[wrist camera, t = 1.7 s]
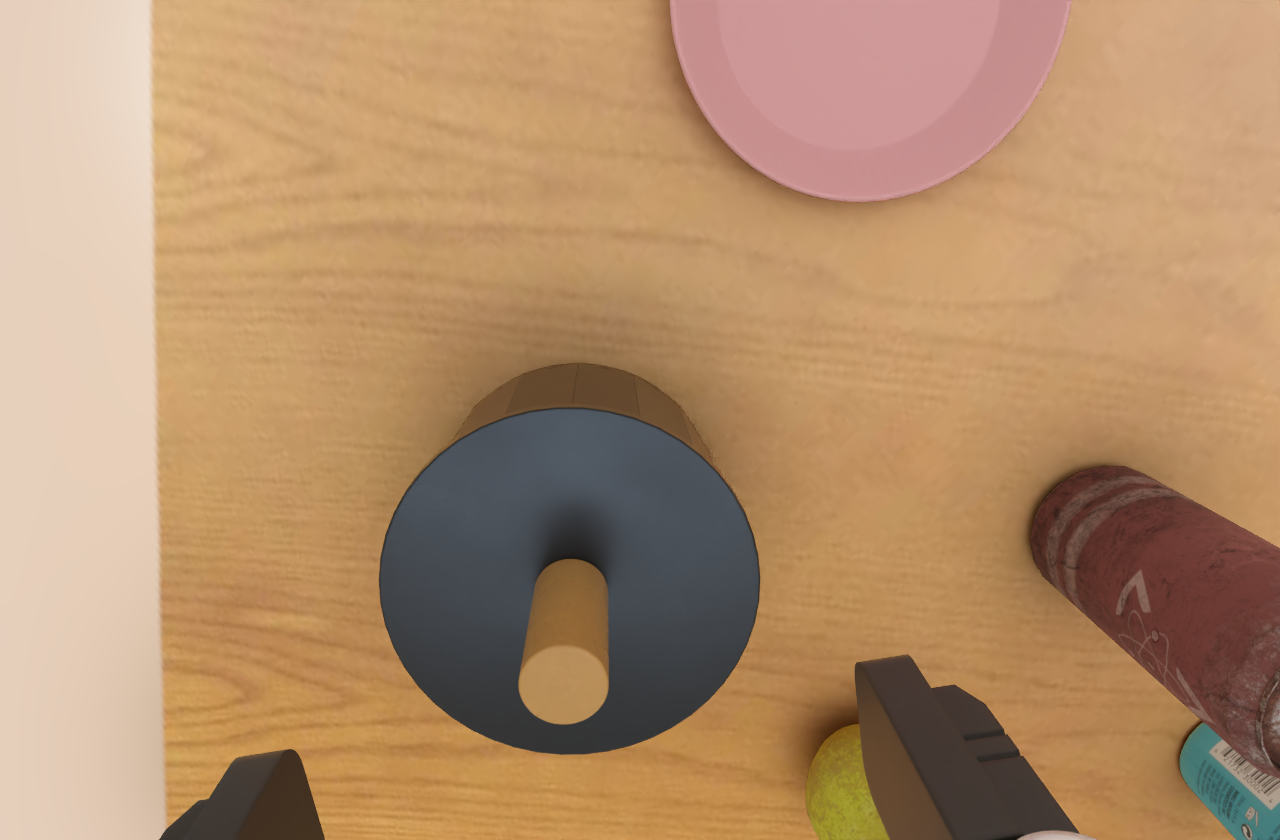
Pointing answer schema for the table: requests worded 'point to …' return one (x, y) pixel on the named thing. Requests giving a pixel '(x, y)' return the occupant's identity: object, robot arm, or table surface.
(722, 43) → the plate
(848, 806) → the fruit
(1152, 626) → the can
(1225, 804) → the tube
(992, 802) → the robot arm
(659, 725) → the lid
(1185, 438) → the table surface
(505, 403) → the tin
